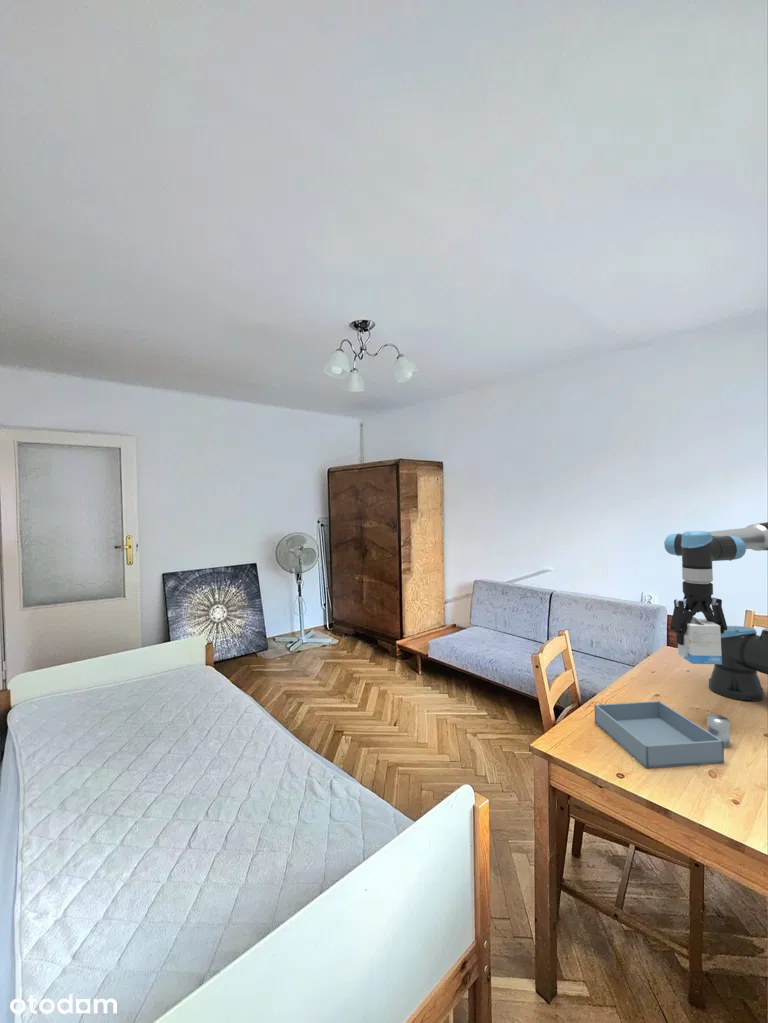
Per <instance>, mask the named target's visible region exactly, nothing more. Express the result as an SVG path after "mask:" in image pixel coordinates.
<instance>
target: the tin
mask: <svg viewBox="0 0 768 1023" xmlns="http://www.w3.org/2000/svg"><path fill="white" fill-rule="evenodd" d="M706 722H707V723H706V731H708V732H709V733H711V734H713V735H714V736H716V737H717V738H719V739H721V740H722V741H724V749H729V748H730V747H731V729H730V727H731V726H730V724H731V723H730V718H727V717H725V716H723V715H720V714H715V713H708V714H707V715H706Z"/></svg>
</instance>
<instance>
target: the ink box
mask: <svg viewBox="0 0 768 1023" xmlns="http://www.w3.org/2000/svg"><path fill="white" fill-rule="evenodd" d="M685 634H686V635H688V656H687V657H686V656H683V655H681V654H679V644H677V650H678V651H677V654H678V655H679V656H680V657H681V658H683V659H684V660H686V661H688V662H689V663H691V664H692V665H714V664H722V652H721V632H720V626H719V625H717V624H715V623H713V622H711V621H707V620H706V618H697V617H695V616H693V618H692V620H691V622H690V624H687V630H686V632H685Z"/></svg>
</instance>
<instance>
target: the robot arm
mask: <svg viewBox="0 0 768 1023" xmlns="http://www.w3.org/2000/svg"><path fill="white" fill-rule="evenodd" d="M664 549H665V551H666V552H667V553H668V554H670V555H673V556H677V557H680V556H681V562H682V563H681V565H682V566H681V571H682V574H681V575H682V576H681V577H682V578H681V579H682V580H683V581H682V593H683V595H684V596H683V599H674V600H673V605H674V608H673V613H672V616H671V621H670V626H669V630H670V631H671V632H673V633H676V644H677V645H678V644H679V654H681V655H683V656H686V657H687V656H688V635H686V634H685V632H686V630H687V624H690V622H691V620H692V618H693V617H695V616H696V614H698V613H702V614H703V616H704V617H705V618H704V619H706V620H707V621H711V622H713V623H715V624H717V625H719V626H720V632H721V652H722V664H713V668H712V673H711V675H710V678H709V679H708V688H709V689H710V691H712V692H713V693H716V694H717V695H720V696H722V697H726V698H729V699H732V698H734V700H737V699H741V700H740V701H743V700H752V701H751V702H754V701H753V700H760V701H762V700H761V699H763V698H765V691H764V688H763V687H762V684H761V681H760V679H759V675H758V674H757V673H758V672H759V673H763V674H764V675H767V676H768V627H766V628H763V629H762V630H761V633H760V635H758V634H757V630H756V629H755V628H753V627H749V626H748V627H747V626H741V625H728V624H727V620H726V618H725V614H724V610H723V607H722V606H723V605H722V604H723V601H722V599H721V598H717V597H712V596H713V595H714V584H713V583H712V582H713V581H714V577H713V572H714V571H713V562H719V561H720V562H721V561H733V560H738V559H741V558H742V557H743V556H745V554H746V551H747V550H752V551H757V552H759V551H760V552H761V551H768V521H767V522H760V523H759V522H758V523H753V524H749V525H747V526H746V527H741V528H733V529H732V528H730V529H723V530H711V531H705V530H694V531H693V530H692V531H691V530H687V531H683V532H682V533H679V532H678V533H670V534H669V535H667V536H666V537H665V540H664ZM679 654H678V655H679ZM763 700H764V699H763Z"/></svg>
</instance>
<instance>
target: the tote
mask: <svg viewBox="0 0 768 1023" xmlns="http://www.w3.org/2000/svg"><path fill="white" fill-rule="evenodd" d="M594 724H596V725H597V726H598V728H600V729H601V730H602V731H603V732H604V733H606V734H607V735H608V736H609V737H610V738H611V739H613V740H614V741H615V742H616V743H617V744H618V745H619V746H621V747H622V749H624V750H625V751H626V752H627V753H628V754H629V755H631V756H632V757H633V758H634V759H636V761H637V762H639V763H640V765H642V766H643V767H644V768H646V769H654V768H655V769H657V768H671V767H685V766H697V765H698V766H699V765H711V764H712V765H713V764H724V763H725V757H724V756H725V752H724V749H725V748H724V741H722V740H721V739H719V738H717V737H716V736H714V735H713V734H711V733H709V732H708V731H707V729H705V728H703V727H702V726H700V725H699V724H697V723H695V722H693V721H692V720H690V719H689V718H687V717H685V716H684V715H682V713H679V712H677V711H676V710H674V709H673V708H671V707H670V706H668V705H667V704H665V703H664V702H661V701H660V700H652V701H637V702H622V703H621V702H620V703H618V702H617V703H603V704H594Z"/></svg>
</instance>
